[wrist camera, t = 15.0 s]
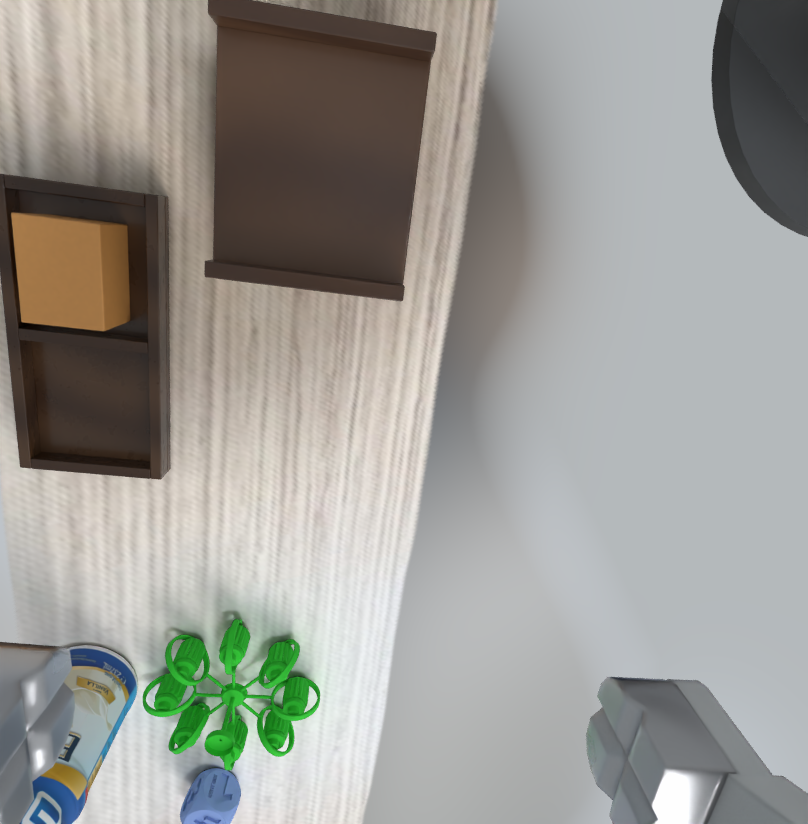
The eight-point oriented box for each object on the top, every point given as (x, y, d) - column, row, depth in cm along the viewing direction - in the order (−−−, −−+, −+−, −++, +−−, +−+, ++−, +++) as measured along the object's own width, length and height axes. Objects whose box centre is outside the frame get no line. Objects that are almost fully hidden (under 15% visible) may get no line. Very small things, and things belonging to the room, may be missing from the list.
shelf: (9, 175, 35) (-11, 172, 33) (168, 197, 36) (157, 195, 34) (35, 456, 41) (19, 467, 39) (170, 468, 42) (161, 480, 40)
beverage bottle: (53, 716, 49) (-142, 1020, 30) (34, 642, 47) (-195, 924, 28) (148, 712, 50) (14, 1008, 31) (134, 638, 47) (-22, 912, 28)
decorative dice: (245, 777, 53) (235, 820, 49) (223, 802, 54) (212, 845, 50) (209, 761, 52) (197, 803, 48) (188, 786, 53) (174, 829, 49)
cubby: (259, 67, 34) (207, -9, 23) (415, 93, 35) (437, 31, 24) (251, 263, 38) (204, 277, 27) (393, 281, 39) (402, 301, 28)
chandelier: (317, 740, 52) (309, 814, 46) (156, 736, 51) (125, 811, 44) (326, 613, 47) (320, 674, 41) (150, 604, 46) (114, 666, 40)
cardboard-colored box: (48, 214, 35) (10, 212, 32) (127, 224, 36) (99, 223, 32) (55, 313, 37) (20, 323, 34) (130, 322, 38) (104, 332, 34)
